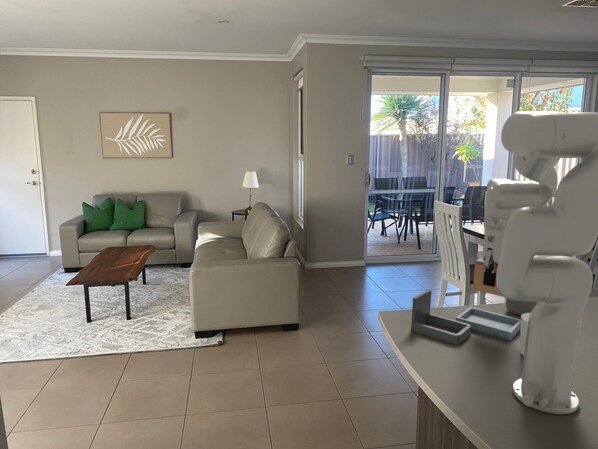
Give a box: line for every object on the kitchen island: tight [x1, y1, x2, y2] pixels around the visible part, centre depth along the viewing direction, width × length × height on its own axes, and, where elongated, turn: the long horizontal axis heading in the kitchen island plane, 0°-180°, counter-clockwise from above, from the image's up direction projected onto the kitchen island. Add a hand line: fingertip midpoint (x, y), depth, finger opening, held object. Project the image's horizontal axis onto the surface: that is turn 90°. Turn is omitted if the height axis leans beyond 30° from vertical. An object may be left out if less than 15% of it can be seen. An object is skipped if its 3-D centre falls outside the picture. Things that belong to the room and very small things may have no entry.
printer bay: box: [410, 289, 472, 345], centre depth 128 cm, size 10×14×10 cm
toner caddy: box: [472, 256, 504, 298], centre depth 130 cm, size 5×9×9 cm, turn 48°
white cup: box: [519, 313, 530, 357], centre depth 114 cm, size 8×8×10 cm
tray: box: [455, 306, 521, 341], centre depth 132 cm, size 12×16×2 cm
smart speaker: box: [505, 298, 538, 317], centre depth 142 cm, size 10×9×14 cm
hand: (492, 282), depth 130 cm, fingers closed on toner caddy, 5 cm apart
